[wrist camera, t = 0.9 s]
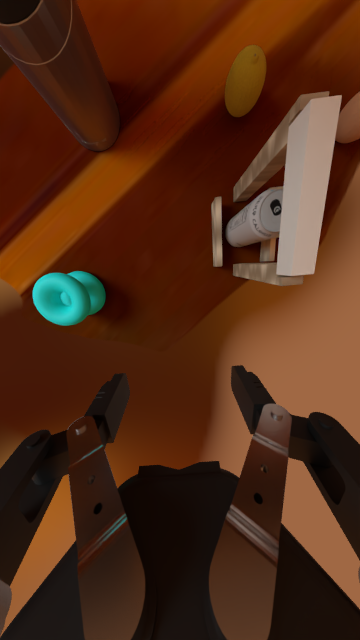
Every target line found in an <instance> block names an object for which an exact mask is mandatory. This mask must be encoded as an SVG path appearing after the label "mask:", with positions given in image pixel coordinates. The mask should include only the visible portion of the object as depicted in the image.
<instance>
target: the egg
mask: <svg viewBox="0 0 360 640" xmlns="http://www.w3.org/2000/svg"><path fill="white" fill-rule="evenodd" d="M359 138H360V92H358V93H357V94H356V95H355V96H354V97H353V98H352V99H351V100H350V101H349V102H348V103H347V104H346V105H345V107H344V108H343V110H342V111H341V113H340V114H339V117H338V123H337V130H336V136H335V140H336V141H337V142H339V143H350V142H352V141H355V140H357V139H359Z"/></svg>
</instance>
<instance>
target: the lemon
mask: <svg viewBox="0 0 360 640" xmlns="http://www.w3.org/2000/svg"><path fill="white" fill-rule="evenodd" d="M265 75H266V59H265V55H264V53H263V51H262V49H261V48H260V47H259V46H257V45H250V46H247V47H246V48H244V49H243V50H242V51H241V52H240V53H239V54H238V56H237V57H236V59H235V61H234V62H233V64H232V67H231V69H230V72H229V74H228V77H227V81H226V87H225V104H226V107H227V110H228V112H229V113H230V114H231V115H232V116H234V117H241V116H244V115H245V114H247V113H248V112H249V111H250V110H251V109H252V108H253V106H254V105H255V103H256V101H257V100H258V98H259V96H260V93H261V90H262V87H263V84H264V81H265Z"/></svg>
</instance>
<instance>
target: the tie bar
mask: <svg viewBox="0 0 360 640" xmlns="http://www.w3.org/2000/svg"><path fill="white" fill-rule="evenodd" d="M341 98H342V95H339V96H331V97H323V98H315V99H311V100H310V101H309V103H308V104H307V105H306V106H305V108H304V109H303V110H302V111H301V113H300V114H299V115H298V116H297V118H296V119H295V120H294V121H293V122H292V124H291V125H290V126H289V130H288V142H287V154H286V165H285V177H284V189H283V200H282V212H281V224H280V236H279V247H278V259H277V271H276V274H277V275H286V276H297V275H306V274H314V270H315V264H316V257H317V251H318V245H319V238H320V232H321V226H322V219H323V213H324V207H325V200H326V194H327V187H328V181H329V175H330V168H331V162H332V155H333V149H334V143H335V136H336V130H337V123H338V117H339V111H340V104H341Z"/></svg>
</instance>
